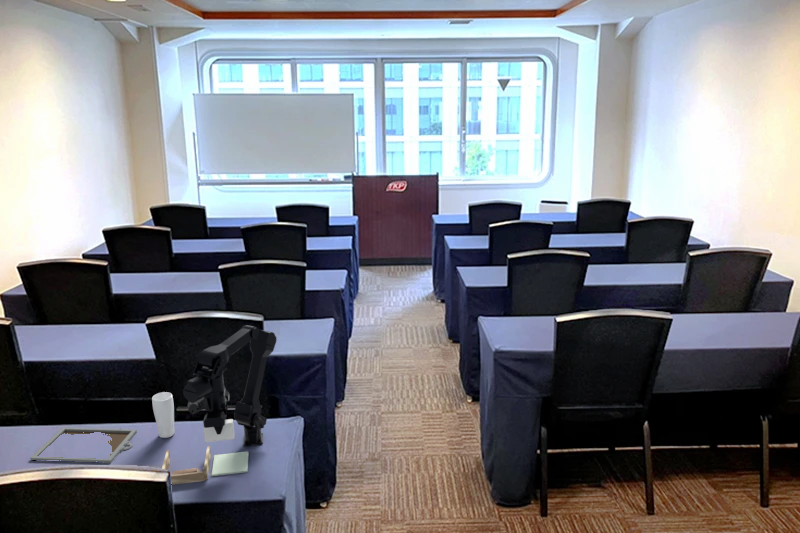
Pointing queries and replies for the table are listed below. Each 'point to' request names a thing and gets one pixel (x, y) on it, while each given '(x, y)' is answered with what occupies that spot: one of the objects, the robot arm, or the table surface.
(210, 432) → the white block
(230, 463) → the mat
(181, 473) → the offcut stack
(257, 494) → the table surface
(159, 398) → the drinking glass
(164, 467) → the rack
